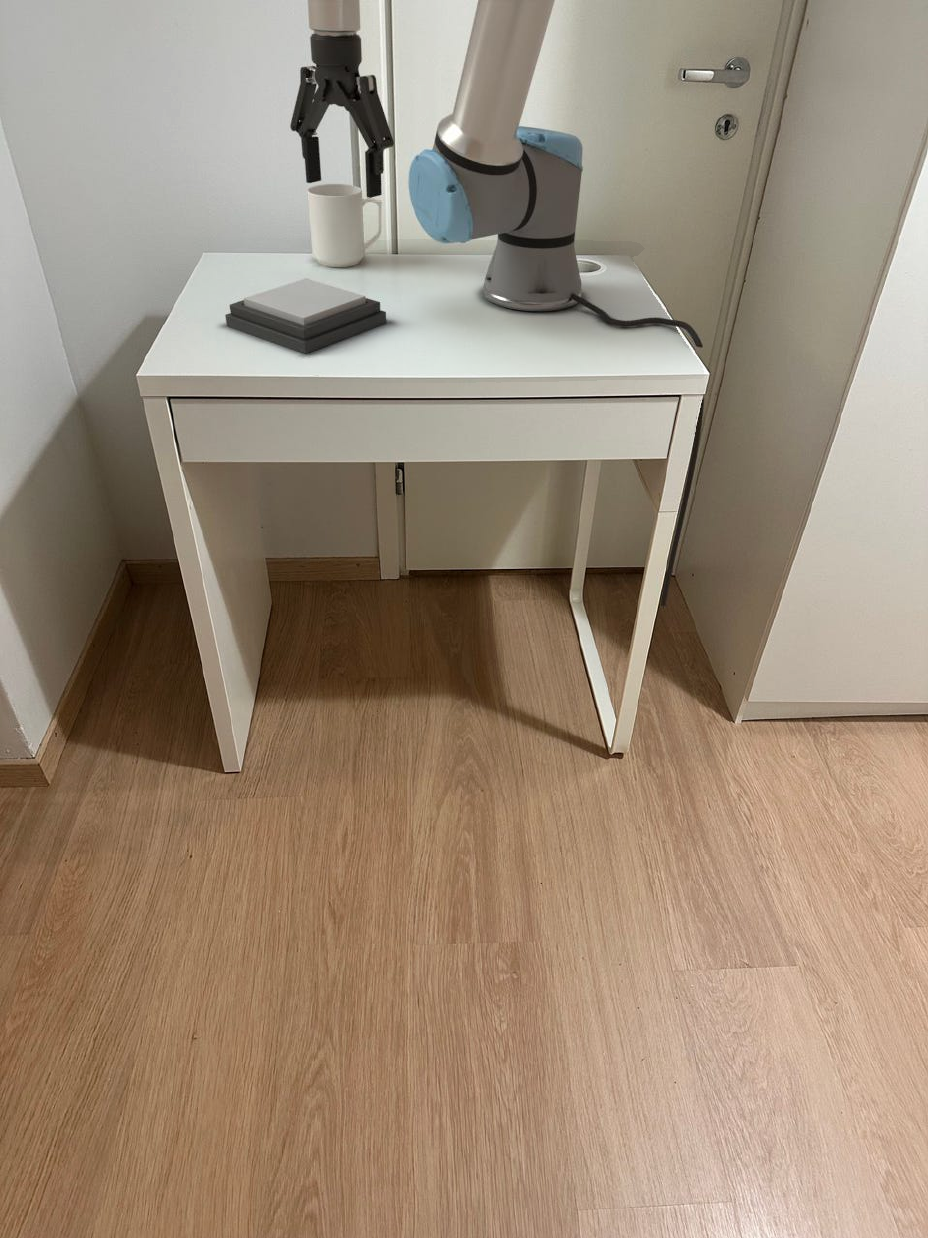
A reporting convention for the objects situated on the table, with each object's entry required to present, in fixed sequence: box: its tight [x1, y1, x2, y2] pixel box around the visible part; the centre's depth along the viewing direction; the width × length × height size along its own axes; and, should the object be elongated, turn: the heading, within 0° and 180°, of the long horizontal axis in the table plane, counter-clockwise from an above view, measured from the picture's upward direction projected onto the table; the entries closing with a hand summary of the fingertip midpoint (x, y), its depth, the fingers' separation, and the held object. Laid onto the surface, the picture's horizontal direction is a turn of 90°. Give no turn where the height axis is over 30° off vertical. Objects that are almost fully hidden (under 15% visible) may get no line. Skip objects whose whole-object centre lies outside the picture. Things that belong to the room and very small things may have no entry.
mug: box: [306, 183, 383, 268], centre depth 147 cm, size 12×9×11 cm
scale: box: [224, 297, 387, 355], centre depth 125 cm, size 16×16×3 cm
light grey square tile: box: [243, 278, 367, 326], centre depth 124 cm, size 12×12×1 cm
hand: (343, 188), depth 143 cm, fingers open, 13 cm apart
